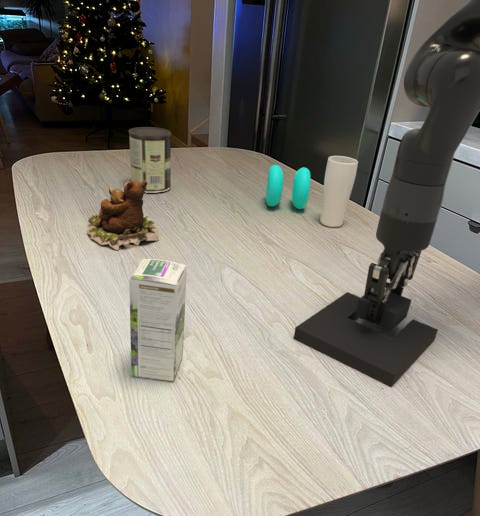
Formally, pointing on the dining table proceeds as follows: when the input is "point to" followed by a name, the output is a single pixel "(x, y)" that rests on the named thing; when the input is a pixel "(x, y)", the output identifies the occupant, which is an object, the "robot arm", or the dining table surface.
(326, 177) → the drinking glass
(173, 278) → the syrup box
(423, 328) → the black notched slab
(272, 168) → the teal wheel pair
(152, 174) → the coffee can
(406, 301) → the graphite block
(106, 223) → the bear figurine
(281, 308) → the dining table surface
